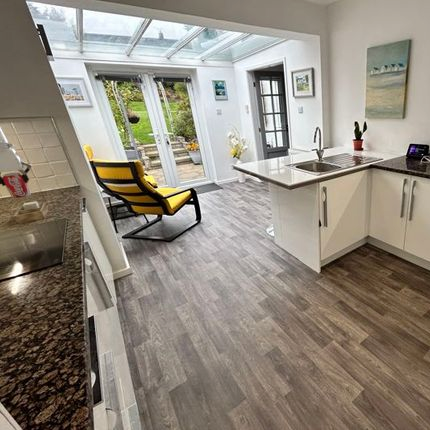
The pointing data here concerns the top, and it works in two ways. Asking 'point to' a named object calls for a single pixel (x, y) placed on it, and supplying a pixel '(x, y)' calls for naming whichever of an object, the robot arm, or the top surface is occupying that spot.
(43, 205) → the rack
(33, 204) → the block
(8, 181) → the soda can
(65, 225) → the top surface
